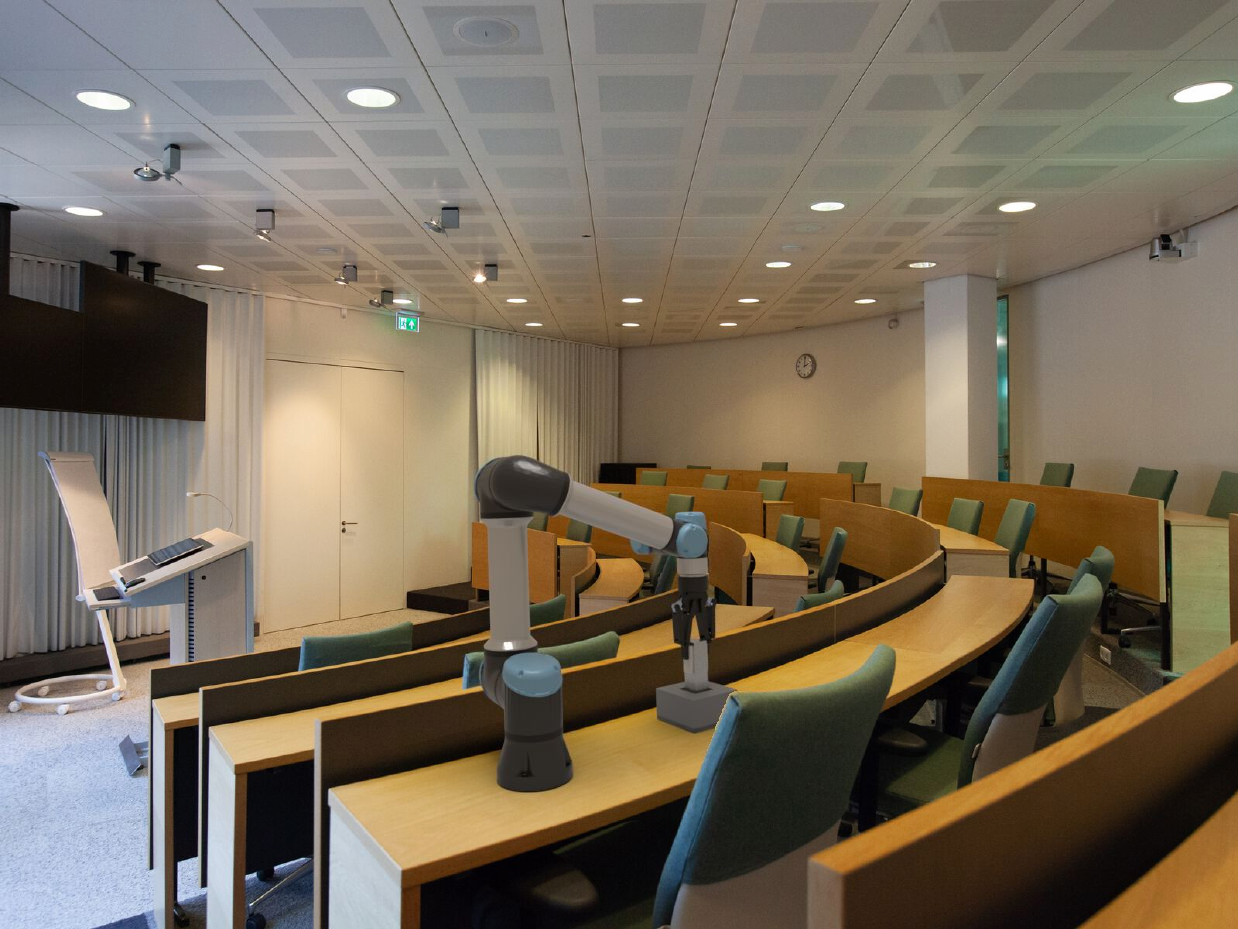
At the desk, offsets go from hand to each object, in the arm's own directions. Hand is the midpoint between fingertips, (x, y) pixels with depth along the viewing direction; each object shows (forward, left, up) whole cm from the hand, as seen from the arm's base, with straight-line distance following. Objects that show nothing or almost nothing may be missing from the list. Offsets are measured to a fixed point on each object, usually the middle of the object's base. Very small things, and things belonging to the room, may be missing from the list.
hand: (696, 670), depth 181 cm
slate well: (0, 0, -12) cm, 12 cm away
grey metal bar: (0, 0, -9) cm, 9 cm away
